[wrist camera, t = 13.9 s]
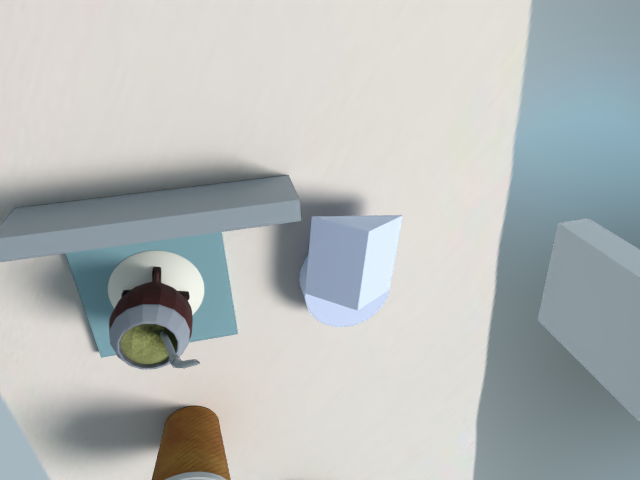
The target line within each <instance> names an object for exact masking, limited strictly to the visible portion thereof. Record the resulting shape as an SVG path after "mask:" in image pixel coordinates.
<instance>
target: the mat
mask: <svg viewBox="0 0 640 480" xmlns="http://www.w3.org/2000/svg"><path fill="white" fill-rule="evenodd" d="M65 254H66V257H67V259H68V262H69V265H70V268H71V271H72V274H73V277H74V280H75V283H76V286H77V289H78V292H79V294H80V297H81V300H82V303H83V306H84V309H85V312H86V315H87V318H88V321H89V324H90V327H91V329H92V332H93V335H94V338H95V341H96V344H97V347H98V350H99V353H100V356H101V358H102V357H107V356H113V355H116V353H115V351H114V350H113V348H112V346H111V344H110V337H109V320H110V316H111V314H112V312H113V310H114V308H115V307H116V305H117V303H118V301H119V300H120V299H121V294H122V292H123V290H132V289H133V288H135V287H136V286H139V285H142V284H145V283H148V282H152V270H153V267H161V283H163V284H166V285H168V286H171V287H173V288H174V289H176V290H177V291H188V292H189V295H190V298H189V300H188V302H189V304H190V306H191V309H192V317H193V323H192V335H191V338H190V340H189V342H194V341H200V340H206V339H212V338H218V337H223V336H229V335H235V334H238V332H237V325H236V319H235V313H234V306H233V300H232V294H231V288H230V281H229V275H228V269H227V263H226V257H225V250H224V244H223V238H222V232H217V233H210V234H202V235H195V236H188V237H180V238H173V239H166V240H159V241H151V242H144V243H137V244H129V245H122V246H115V247H107V248H100V249H93V250H85V251H78V252H71V253H65Z"/></svg>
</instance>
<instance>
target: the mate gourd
mask: <svg viewBox="0 0 640 480" xmlns="http://www.w3.org/2000/svg"><path fill="white" fill-rule="evenodd" d="M189 298H190V295H189V292H188V291H177V290H176V289H174V288H173V287H171V286H168V285H166V284H163V283H161V267H153V270H152V282H148V283H145V284H142V285H139V286H136V287H135V288H133V289H132V290H123V292H122V294H121V299H120V300H119V301H118V303H117V305H116V307H115V308H114V310H113V312H112V314H111V316H110V320H109V337H110V344H111V346H112V348H113V350H114V351H115V353H116V355H117V356H118V357H119V358H120V359H121V360H123V361H124V362H126V363H127V364H128V365H130V366H132V367H136V368H139V369H157V368H160V367H163V366H166V365H168V364H171V365H172V366H173V368H187V367H190V366H194V365H197V364H200V362H199V361H198V360H196V359H193V360H186V361H182V360H181V359H180V358H179V356H181V355H182V354H183V352H184V350H185V349H186V347H187V345H188V343H189V340H190V338H191V335H192V323H193V317H192V309H191V306H190V304H189V302H188V300H189Z"/></svg>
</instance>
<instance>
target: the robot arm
mask: <svg viewBox="0 0 640 480" xmlns="http://www.w3.org/2000/svg"><path fill="white" fill-rule="evenodd" d="M538 321H539V322H540V323H541V324H542V325H543V326H544V327H545V328H546V329H547V330H548V331H549V332H550V333H551V334H552V335H553V336H554V337H555V338H556V339H557V340H558V341H559V342H560V343H561V344H562V345H563V346H564V347H565V348H566V349H567V350H568V351H569V352H570V353H571V354H572V355H573V356H574V357H575V358H576V359H577V360H578V361H579V362H580V363H581V364H582V365H583V366H584V367H585V368H586V369H587V370H588V371H589V372H590V373H591V374H592V375H593V376H594V377H595V378H596V379H597V380H598V381H599V382H600V383H601V384H602V385H603V386H604V387H605V388H606V389H607V390H608V391H609V392H610V393H611V394H612V395H613V396H614V397H615V398H616V399H617V400H618V401H619V402H620V403H621V404H622V405H623V406H624V407H625V408H626V409H627V410H629V412H630V413H631V414H632V415H633V416H634V417H635V418H636V419H637V420H638V421H639V422H640V250H639V249H638V248H636V247H634V246H633V245H631V244H630V243H628V242H626V241H625V240H623V239H621V238H620V237H618V236H616V235H615V234H613V233H612V232H610V231H608V230H606V229H605V228H603V227H601V226H600V225H598V224H597V223H595V222H593V221H592V220H590V219H588V218H587V219H581V220H574V221H568V222H561V223H558V227H557V232H556V236H555V241H554V246H553V250H552V256H551V260H550V265H549V270H548V274H547V279H546V284H545V288H544V293H543V298H542V302H541V307H540V312H539V317H538Z"/></svg>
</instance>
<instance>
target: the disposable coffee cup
mask: <svg viewBox="0 0 640 480" xmlns="http://www.w3.org/2000/svg"><path fill="white" fill-rule="evenodd" d="M220 431H221V430H220V425H219V420H218V417H217V416H216V414H215V413H214V412H213V411H211V410H210V409H207V408H204V407H199V406H191V407H186V408H182V409H180V410H177V411H176V412H174V413H173V414H171V415H170V416H169V418H168V419H167V421H166V423H165V427H164V431H163V435H162V440H161V444H160V448H159V452H158V456H157V460H156V464H155V468H154V473H153V477H152V480H231V479H230V477H229V476H230V474H229V472H228V471H229V469H228V464H227V459H226V455H225V450H224V445H223V440H222V436H221V432H220Z"/></svg>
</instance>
